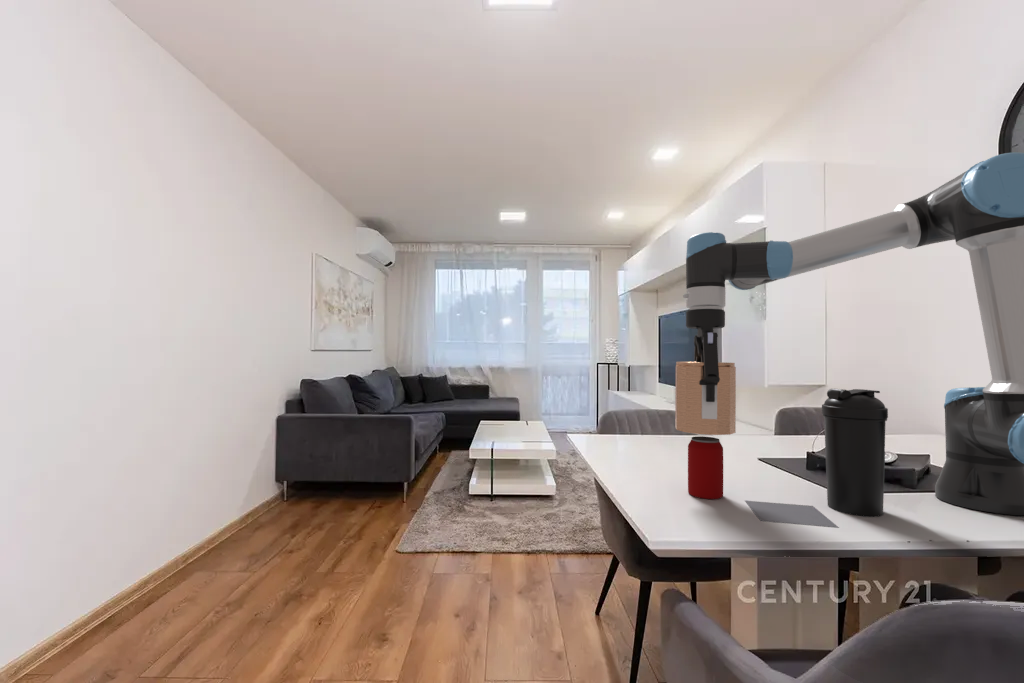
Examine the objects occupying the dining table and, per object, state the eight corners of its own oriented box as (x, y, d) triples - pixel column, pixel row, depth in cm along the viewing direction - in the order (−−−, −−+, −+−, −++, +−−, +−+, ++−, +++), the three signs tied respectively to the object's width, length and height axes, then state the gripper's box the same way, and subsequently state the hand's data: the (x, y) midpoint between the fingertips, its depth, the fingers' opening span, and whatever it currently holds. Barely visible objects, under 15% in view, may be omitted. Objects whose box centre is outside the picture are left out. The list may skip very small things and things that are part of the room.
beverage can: (717, 493, 102) (717, 436, 102) (728, 503, 95) (728, 442, 95) (684, 492, 102) (684, 435, 103) (692, 501, 95) (692, 441, 96)
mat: (812, 508, 92) (812, 505, 92) (838, 530, 80) (839, 527, 80) (744, 503, 95) (744, 500, 95) (760, 523, 83) (760, 520, 83)
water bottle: (904, 520, 86) (902, 391, 86) (849, 521, 85) (848, 391, 85) (859, 503, 96) (857, 387, 96) (810, 503, 95) (809, 387, 96)
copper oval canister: (728, 427, 103) (728, 362, 103) (739, 436, 92) (740, 363, 92) (673, 425, 106) (674, 361, 106) (678, 432, 95) (678, 362, 95)
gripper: (680, 314, 112) (680, 408, 111) (693, 303, 89) (692, 421, 88) (715, 313, 110) (714, 409, 110) (736, 302, 87) (736, 423, 87)
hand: (704, 415), depth 99 cm, fingers closed on copper oval canister, 11 cm apart
